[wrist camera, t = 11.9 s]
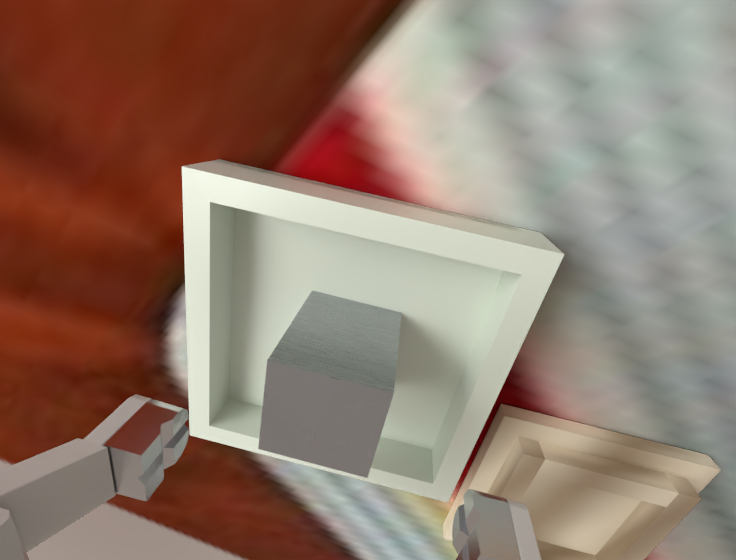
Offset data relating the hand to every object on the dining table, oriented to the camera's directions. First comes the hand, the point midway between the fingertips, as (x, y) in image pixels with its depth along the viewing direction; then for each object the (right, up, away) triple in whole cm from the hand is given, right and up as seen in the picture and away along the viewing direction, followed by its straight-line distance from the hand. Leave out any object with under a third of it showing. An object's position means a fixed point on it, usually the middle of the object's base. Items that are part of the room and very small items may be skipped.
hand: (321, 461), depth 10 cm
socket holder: (+12, -6, +9) cm, 16 cm away
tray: (0, +3, +7) cm, 7 cm away
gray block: (0, +2, +6) cm, 7 cm away
